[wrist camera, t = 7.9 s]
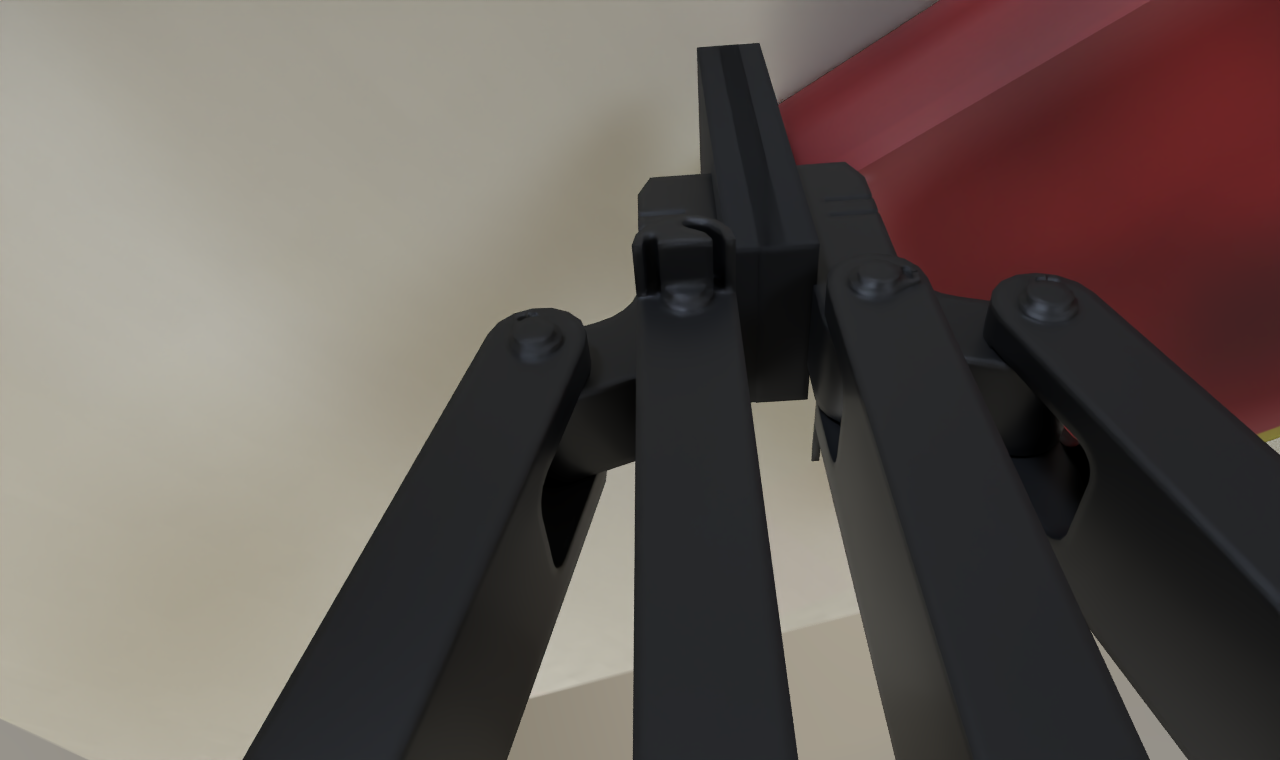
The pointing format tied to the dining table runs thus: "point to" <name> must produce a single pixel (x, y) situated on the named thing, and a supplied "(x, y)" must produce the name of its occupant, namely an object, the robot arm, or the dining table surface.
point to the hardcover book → (1082, 164)
